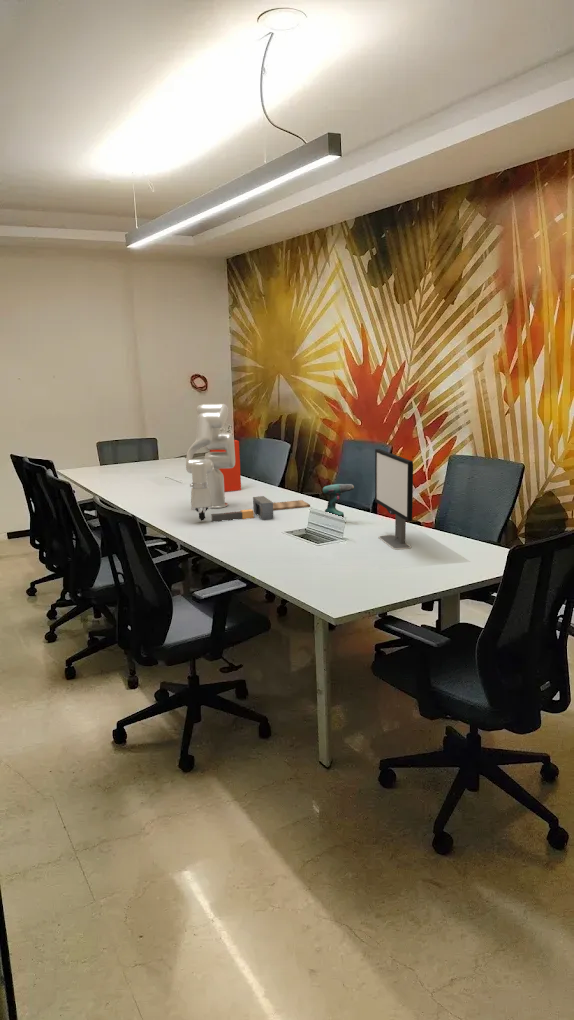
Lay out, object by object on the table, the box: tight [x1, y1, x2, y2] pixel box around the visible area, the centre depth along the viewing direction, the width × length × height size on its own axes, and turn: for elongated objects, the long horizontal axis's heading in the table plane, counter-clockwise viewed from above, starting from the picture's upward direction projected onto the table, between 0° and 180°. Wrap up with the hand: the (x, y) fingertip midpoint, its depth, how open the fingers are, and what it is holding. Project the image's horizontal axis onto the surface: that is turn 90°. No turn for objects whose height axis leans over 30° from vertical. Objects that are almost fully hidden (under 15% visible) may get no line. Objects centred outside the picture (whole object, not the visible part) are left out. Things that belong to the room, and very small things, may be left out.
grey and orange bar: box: [210, 508, 255, 522], centre depth 346 cm, size 23×4×4 cm, turn 108°
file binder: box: [209, 439, 242, 493], centre depth 419 cm, size 8×17×32 cm, turn 111°
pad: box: [273, 499, 311, 512], centre depth 372 cm, size 26×14×1 cm, turn 108°
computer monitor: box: [374, 448, 414, 551], centre depth 290 cm, size 41×8×40 cm, turn 12°
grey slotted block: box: [252, 495, 274, 521], centre depth 351 cm, size 6×18×9 cm, turn 18°
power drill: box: [322, 483, 355, 518], centre depth 332 cm, size 7×16×20 cm, turn 70°
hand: (202, 519), depth 342 cm, fingers closed
